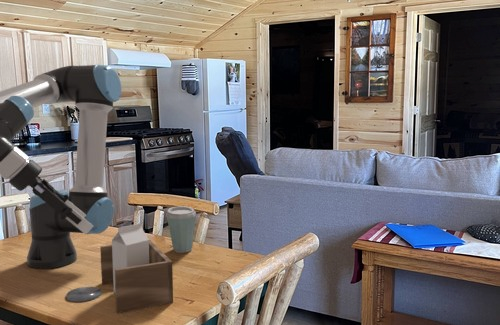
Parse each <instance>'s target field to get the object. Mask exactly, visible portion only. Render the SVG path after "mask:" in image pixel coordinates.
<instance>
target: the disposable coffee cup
mask: <svg viewBox="0 0 500 325" xmlns="http://www.w3.org/2000/svg"><path fill="white" fill-rule="evenodd" d="M165 217H166V219H167V224H168V229H169V230H168V231H169V233H170V234H169V236H170V239H171V244H172V249H173V252H175V253H178V254H181V253H182V254H183V253H189V252H190V251H192V248H193V246H194V245H193V243H194V235H195V226H196V217H197V212H196V211H195V209H194V207H190V206H185V205H181V206H172V207H169V209H167V210H166V212H165Z"/></svg>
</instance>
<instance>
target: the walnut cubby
mask: <svg viewBox="0 0 500 325" xmlns="http://www.w3.org/2000/svg"><path fill="white" fill-rule="evenodd" d="M100 272H101V273H100V274H101V284H102V285H107V284H113V257H112V244H109V245H108V244H107V245H100ZM173 273H174V272H173V261H172V260H171V259H170V258H169V257H168V256H167V255H166V254H165V253H164V252H163V251H162V250H161V249H160V248H159V247H158V246H157V245H156V244H155V243H153V241H151V239H149V264H145V265H138V266H132V267H125V268H119V269H115V290H116V293H115V306H116V307H115V309H116V310H115V311H116V313H117V314H119V313H120V314H121V313H126V312H131V311H136V310H140V309H142V310H143V309H146V308H152V307H156V306H160V305H166V304H173V303H174V289H173V288H174V285H173V284H174V283H173V282H174V279H173V278H174V277H173V276H174V275H173Z"/></svg>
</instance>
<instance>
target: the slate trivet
mask: <svg viewBox="0 0 500 325" xmlns="http://www.w3.org/2000/svg"><path fill="white" fill-rule="evenodd" d="M101 295H102V289H101V288H99V287H96V286H82V287H81V286H80V287H77V288H73V289H70V291H68V292H67V293H66V295H65V296H66V298H65V299H66V300H67V301H69V302H73V303H83V302H89V301H93V300H96V299H98V298H100V297H101Z"/></svg>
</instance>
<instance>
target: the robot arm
mask: <svg viewBox="0 0 500 325" xmlns="http://www.w3.org/2000/svg"><path fill="white" fill-rule="evenodd" d="M121 96H122V83H121V80H120V76H119V75H118V72H117V71H116V70H115V69H114V68H113V67H111V66H109V65H103V64H102V65H101V64H92V65H91V64H90V65H89V64H88V65H86V64H85V65H66V66H62V67H58V68H55V69H52V70H49V71H47V72H43V73H41V74H38V75H36V76H35V77H34V78H33V80H29V81H27V82H24V83H20V84H18V85H16V86H12V87H9V88H7V89H4V90H0V177H2V178H3V179H4V180H8V184H10V185H11V186H13V187H14V189H17V190H18V191H20V192H22V191H24V190H25V189H27V187H31V191H32V193H33V194H34V195H33V196H31V197H30V199H29V209H28V210H29V219H30V220H29V221H30V233H31V243H30V245H29V246H30V247H29V250H28V253H27V256H26V263H27V266H28V267H30V268H34V269H54V268H60V267H64V266H68V265H70V264H72V263H74V262H76V260H77V259H78V258H77V257H78V255H77V249H76V248H75V245H74V243H73V240H72V237H71V233H76V234H78V233H79V234H84V235H100V234H102V233H105V231H106V230H107V229H108V228H109V226H110V225H111V223H112V222H113V218H114V213H115V205H114V202H113V200H112V199H111V198H109V197H108V191H107V190H106V189H105V188H104V177H105V176H104V175H105V159H106V147H107V146H106V145H107V144H106V143H107V142H106V141H107V129H108V128H107V127H108V114H109V113H110V112H111V111H112V110H113V108H114V103H116V102H118V101H119V100H120V97H121ZM60 102H75V103H74V104H75V105H74V106H75V107H76V108H77V109H78V110H79V118H78V132H77V134H78V135H77V144H76V145H77V147H76V148H77V149H76V160H75V161H76V162H75V163H76V164H75V178H74V186H72V187H71V188H70V189H69V191H68V190H67V189H61V190H56V189H55V187H54V186H52V184H50V183H49V181H47V180H46V179H45V178H43V179H42V178H41V176H40V174H41V173H42V171H43V167H41V165H40V164H38V163H37V162H35V160H33V159H29V155H28V154H26V153H25V152H24V151H23V150H22V149H20V148H19V146H17V145H16V144H14V143H13V142H12V140H13V138H14V137H16V136H17V135H18V134H19V133H20V132H21V131H22V130H23V129H24V128H25V127H27V126H28V125H29V122H30V121H31V120H32V119H33V118H34V115H35V110H34V108H37V107H38V106H41V105H44V104H45V105H52V104H55V103H60Z"/></svg>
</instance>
